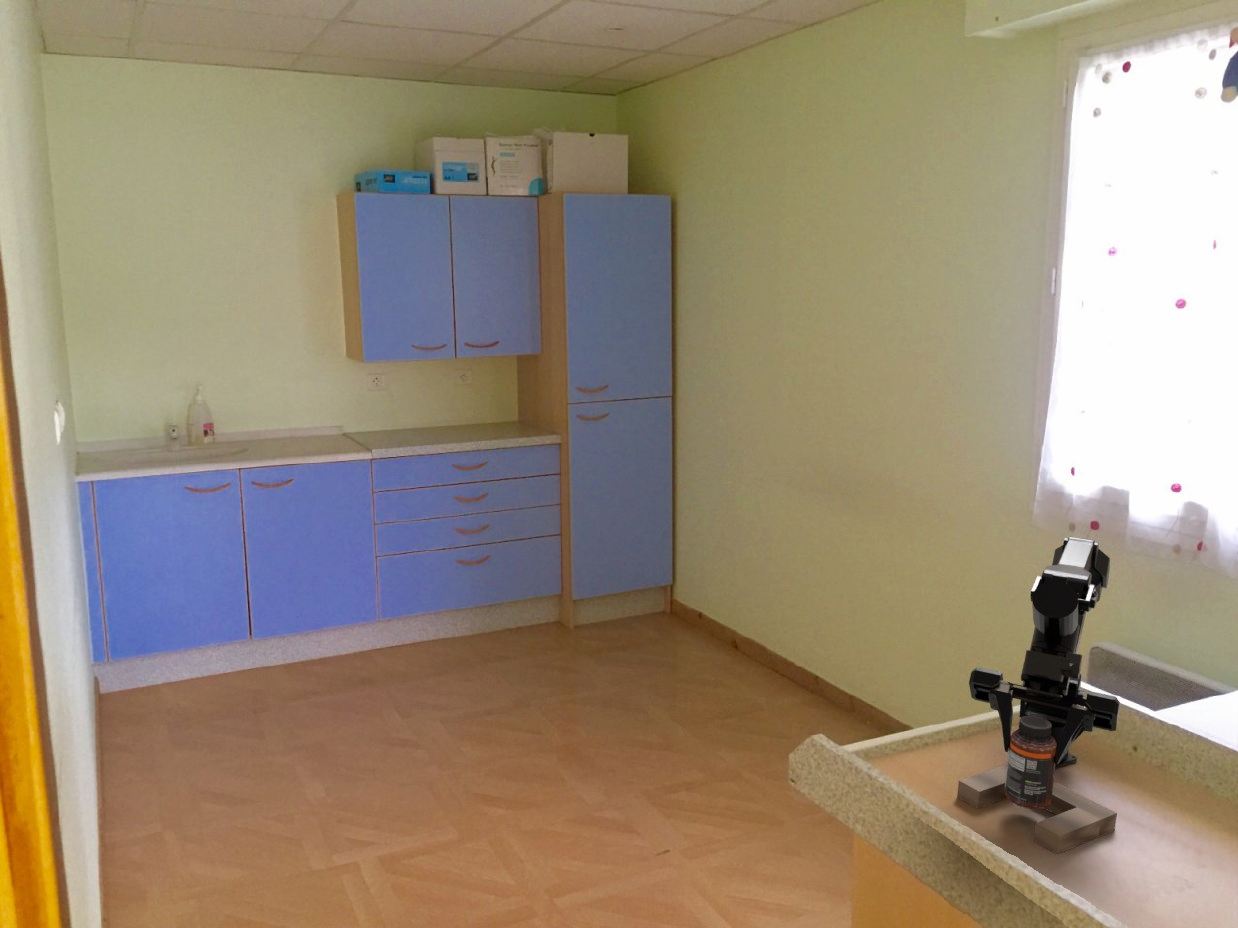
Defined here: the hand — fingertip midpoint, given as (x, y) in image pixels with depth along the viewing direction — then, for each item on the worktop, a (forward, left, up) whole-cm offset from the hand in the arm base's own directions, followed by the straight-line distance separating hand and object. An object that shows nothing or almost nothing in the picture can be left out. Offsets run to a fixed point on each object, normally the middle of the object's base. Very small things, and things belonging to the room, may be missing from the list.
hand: (1030, 756), depth 137 cm
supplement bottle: (-1, -1, -7) cm, 7 cm away
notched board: (-3, -1, -9) cm, 10 cm away
